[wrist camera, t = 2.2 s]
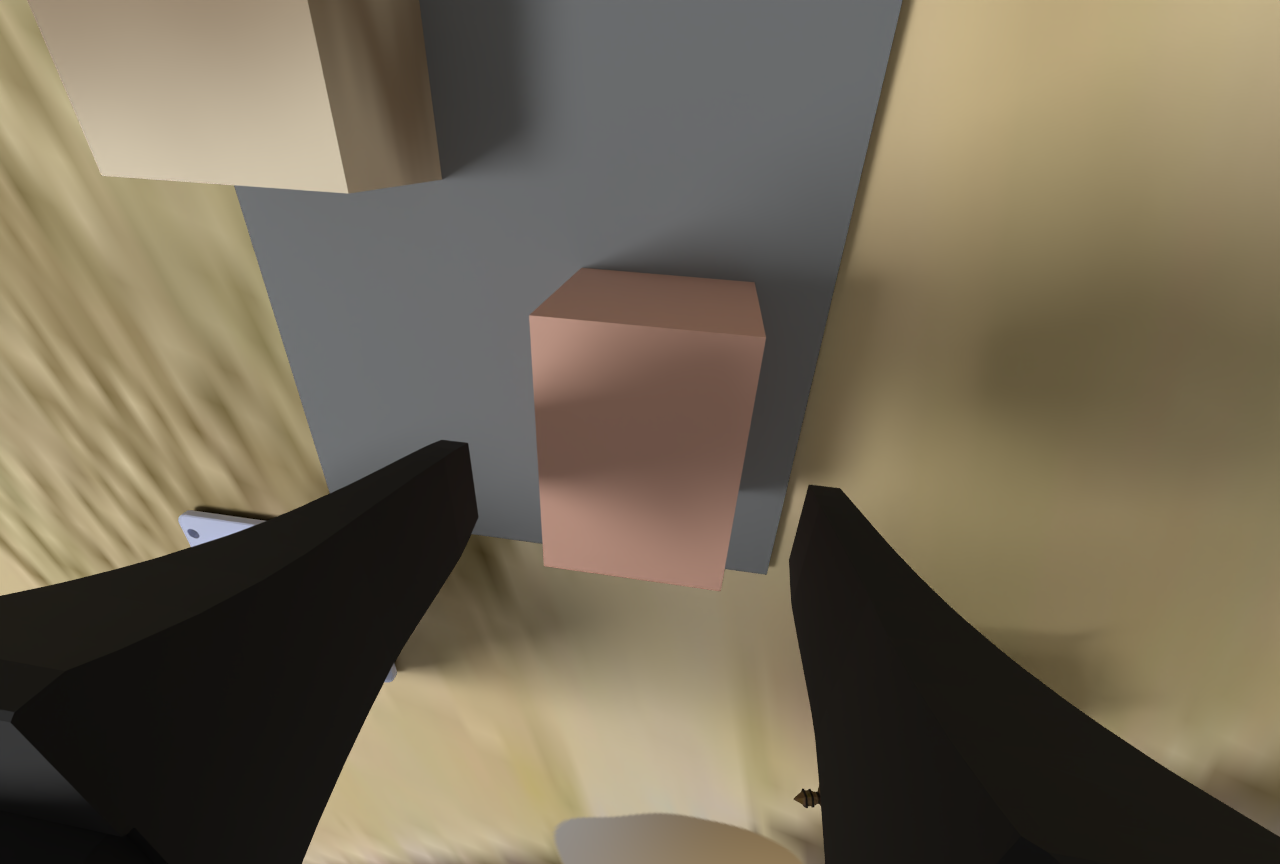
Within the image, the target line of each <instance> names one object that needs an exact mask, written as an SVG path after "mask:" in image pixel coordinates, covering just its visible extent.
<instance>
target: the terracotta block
mask: <svg viewBox="0 0 1280 864" xmlns="http://www.w3.org/2000/svg"><path fill="white" fill-rule="evenodd" d="M529 323H530V339H531V356H532V373H533V390H534V407H535V424H536V441H537V458H538V474H539V491H540V508H541V525H542V542H543V559H544V566H547V567H554V568H561V569H568V570H575V571H582V572H589V573H596V574H603V575H610V576H617V577H624V578H631V579H638V580H645V581H652V582H659V583H666V584H673V585H680V586H687V587H694V588H701V589H708V590H715V591H721V586H722V581H723V575H724V570H725V564H726V558H727V553H728V547H729V542H730V536H731V530H732V525H733V519H734V514H735V508H736V503H737V497H738V491H739V486H740V480H741V475H742V469H743V464H744V458H745V452H746V447H747V441H748V436H749V430H750V425H751V419H752V413H753V408H754V402H755V397H756V391H757V386H758V380H759V374H760V369H761V363H762V358H763V352H764V347H765V341H766V335H765V330H764V325H763V320H762V315H761V311H760V306H759V301H758V296H757V291H756V286H755V282H745V281H733V280H721V279H710V278H698V277H686V276H674V275H662V274H650V273H638V272H626V271H614V270H602V269H590V268H581V269H579V270H578V271H577V272H576V273H575V274H574V275H573V276H572V277H571V278H570V279H568V280H567V281H566V282H565V283H564V284H563V285H562V286H561V287H560V288H559V289H557V290H556V291H555V292H554V293H553V294H552V295H551V296H550V297H549V298H548V299H546V300H545V301H544V302H543V303H542V304H541V305H540V306H539V307H538V308H537V309H535V310H534V311H533V312H532V313H531V314H530V315H529Z"/></svg>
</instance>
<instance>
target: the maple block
mask: <svg viewBox="0 0 1280 864" xmlns="http://www.w3.org/2000/svg"><path fill="white" fill-rule="evenodd" d="M27 1H28V3H29V6H30V8H31V10H32V13H33V15H34V17H35V20H36V22H37V24H38V27H39V29H40V31H41V34H42V36H43V39H44V41H45V43H46V46H47V48H48V50H49V53H50V55H51V57H52V60H53V62H54V65H55V67H56V69H57V72H58V74H59V76H60V79H61V81H62V83H63V86H64V88H65V90H66V93H67V95H68V98H69V100H70V102H71V105H72V107H73V109H74V112H75V114H76V116H77V119H78V121H79V123H80V126H81V128H82V131H83V133H84V135H85V138H86V140H87V142H88V145H89V147H90V149H91V152H92V154H93V156H94V159H95V161H96V164H97V166H98V168H99V171H100V173H101V175H102V176H114V177H128V178H141V179H155V180H169V181H183V182H196V183H210V184H224V185H238V186H251V187H265V188H279V189H293V190H306V191H320V192H334V193H347V194H349V193H356V192H363V191H369V190H376V189H383V188H389V187H396V186H403V185H410V184H416V183H423V182H430V181H436V180H442V175H441V167H440V160H439V152H438V144H437V136H436V128H435V121H434V113H433V105H432V97H431V89H430V82H429V74H428V66H427V58H426V50H425V43H424V35H423V27H422V19H421V11H420V4H419V0H27Z"/></svg>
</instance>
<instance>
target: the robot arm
mask: <svg viewBox="0 0 1280 864" xmlns="http://www.w3.org/2000/svg"><path fill="white" fill-rule="evenodd" d="M178 520H179V524H180V526H181V528H182V529H183V531H184V533H185V535H186V537H187V539H188V541H189V543H190V545H191V547H190V548H187V549H184V550H181V551H178V552H174V553H171V554H168V555H165V556H162V557H159V558H155V559H152V560H148V561H144V562H141V563H137V564H134V565H130V566H126V567H123V568H119V569H115V570H111V571H107V572H103V573H99V574H95V575H92V576H88V577H84V578H80V579H76V580H71V581H67V582H63V583H59V584H54V585H50V586H46V587H41V588H36V589H31V590H26V591H22V592H17V593H12V594H7V595H2V596H0V864H302V862H303V859H304V857H305V854H306V852H307V849H308V847H309V844H310V842H311V840H312V837H313V835H314V832H315V830H316V827H317V825H318V823H319V820H320V818H321V816H322V813H323V811H324V809H325V807H326V804H327V802H328V800H329V798H330V795H331V793H332V791H333V789H334V786H335V784H336V782H337V779H338V777H339V775H340V773H341V770H342V768H343V766H344V764H345V761H346V759H347V757H348V755H349V753H350V751H351V749H352V747H353V745H354V743H355V740H356V738H357V736H358V734H359V732H360V730H361V728H362V726H363V724H364V721H365V719H366V717H367V715H368V713H369V711H370V709H371V707H372V705H373V703H374V701H375V699H376V697H377V695H378V693H379V691H380V689H381V687H382V685H383V683H384V682H391V681H393V680H394V678H395V677H396V675H397V670H396V667H395V663H394V662H395V661H396V659H397V657H398V655H399V654H400V652H401V650H402V649H403V647H404V645H405V644H406V642H407V640H408V639H409V637H410V636H411V634H412V633H413V631H414V630H415V628H416V626H417V625H418V623H419V622H420V620H421V619H422V617H423V615H424V614H425V612H426V611H427V609H428V608H429V606H430V605H431V603H432V601H433V600H434V598H435V597H436V595H437V594H438V592H439V591H440V589H441V587H442V586H443V584H444V583H445V581H446V579H447V578H448V576H449V575H450V573H451V572H452V570H453V568H454V567H455V565H456V563H457V562H458V560H459V559H460V557H461V555H462V553H463V551H464V549H465V547H466V544H467V542H468V540H469V538H470V536H471V533H472V531H473V529H474V527H475V524H476V522H477V520H478V509H477V502H476V495H475V488H474V481H473V473H472V466H471V459H470V452H469V444H468V443H465V442H457V441H449V440H440V441H437V442H435V443H432V444H430V445H428V446H425V447H423V448H421V449H419V450H417V451H415V452H413V453H411V454H409V455H407V456H405V457H403V458H401V459H399V460H397V461H395V462H393V463H391V464H389V465H387V466H385V467H383V468H381V469H379V470H377V471H375V472H373V473H371V474H369V475H367V476H365V477H363V478H361V479H359V480H357V481H355V482H353V483H351V484H349V485H347V486H345V487H343V488H341V489H338V490H336V491H334V492H332V493H330V494H328V495H325V496H323V497H321V498H319V499H317V500H315V501H312V502H310V503H308V504H306V505H304V506H302V507H299V508H297V509H295V510H292V511H290V512H288V513H285V514H283V515H280V516H278V517H275V518H273V519H270V520H268V521H264V520H257V519H250V518H242V517H235V516H228V515H221V514H214V513H207V512H200V511H193V510H188V511H186V512H185V513H183V514H182V515H180V516H179V519H178ZM789 569H790V589H791V604H792V610H793V616H794V621H795V627H796V632H797V638H798V643H799V649H800V654H801V659H802V664H803V670H804V675H805V680H806V685H807V691H808V696H809V701H810V707H811V712H812V719H813V726H814V732H815V740H816V752H817V763H818V774H819V785H820V797H821V811H822V824H823V838H824V852H825V864H1280V837H1279V836H1277V835H1276V834H1274V833H1272V832H1271V831H1269V830H1267V829H1266V828H1264V827H1262V826H1261V825H1259V824H1257V823H1256V822H1254V821H1252V820H1251V819H1249V818H1247V817H1246V816H1244V815H1242V814H1241V813H1239V812H1237V811H1236V810H1234V809H1232V808H1231V807H1229V806H1228V805H1226V804H1224V803H1223V802H1221V801H1219V800H1218V799H1216V798H1214V797H1213V796H1211V795H1209V794H1208V793H1206V792H1204V791H1203V790H1201V789H1199V788H1198V787H1196V786H1194V785H1193V784H1191V783H1189V782H1188V781H1186V780H1184V779H1183V778H1181V777H1180V776H1178V775H1176V774H1175V773H1173V772H1171V771H1170V770H1168V769H1167V768H1165V767H1164V766H1162V765H1160V764H1159V763H1157V762H1156V761H1154V760H1153V759H1151V758H1150V757H1148V756H1147V755H1145V754H1144V753H1142V752H1141V751H1139V750H1138V749H1136V748H1135V747H1133V746H1132V745H1130V744H1129V743H1127V742H1126V741H1124V740H1123V739H1121V738H1120V737H1118V736H1117V735H1115V734H1114V733H1112V732H1111V731H1109V730H1108V729H1106V728H1105V727H1103V726H1102V725H1100V724H1099V723H1097V722H1096V721H1095V720H1093V719H1092V718H1090V717H1089V716H1087V715H1086V714H1085V713H1083V712H1082V711H1080V710H1079V709H1077V708H1076V707H1075V706H1073V705H1072V704H1070V703H1069V702H1068V701H1066V700H1065V699H1063V698H1062V697H1061V696H1059V695H1058V694H1057V693H1055V692H1054V691H1053V690H1051V689H1050V688H1049V687H1047V686H1046V685H1045V684H1043V683H1042V682H1041V681H1039V680H1038V679H1037V678H1035V677H1034V676H1033V675H1031V674H1030V673H1029V672H1027V671H1026V670H1025V669H1023V668H1022V667H1021V666H1020V665H1018V664H1017V663H1016V662H1015V661H1013V660H1012V659H1011V658H1010V657H1008V656H1007V655H1006V654H1005V653H1003V652H1002V651H1001V650H1000V649H998V648H997V647H996V646H995V645H994V644H992V643H991V642H990V641H989V640H988V639H987V638H985V637H984V636H983V635H982V634H981V633H980V632H978V631H977V630H976V629H975V628H974V627H973V626H971V625H970V624H969V623H968V622H967V621H966V620H964V619H963V618H962V617H961V616H960V615H959V614H958V613H957V612H956V611H954V610H953V609H952V608H951V607H950V606H949V605H948V604H947V603H946V602H945V601H944V600H943V599H942V598H941V597H940V596H939V595H938V594H937V593H936V592H934V591H933V590H932V589H931V588H930V587H929V586H928V585H927V584H926V583H925V582H924V581H923V580H922V579H921V578H920V577H919V576H918V575H917V574H916V573H915V572H914V571H913V570H912V569H911V568H910V566H909V565H908V564H907V563H906V562H905V561H904V560H903V559H902V558H901V557H900V556H899V555H898V554H897V553H896V552H895V550H894V549H893V548H892V547H891V546H890V545H889V544H888V543H887V542H886V541H885V539H884V538H883V537H882V536H881V535H880V534H879V533H878V532H877V530H876V529H875V528H874V527H873V526H872V525H871V523H870V522H869V521H868V520H867V519H866V518H865V517H864V515H863V514H862V513H861V512H860V511H859V510H858V508H857V507H856V506H855V505H854V504H853V503H852V501H851V500H850V499H849V498H848V497H847V496H846V494H845V493H844V492H843V491H842V490H841V489H840V488H832V487H824V486H816V485H809V486H808V490H807V494H806V497H805V501H804V505H803V509H802V513H801V516H800V520H799V524H798V528H797V532H796V536H795V539H794V543H793V547H792V551H791V555H790V558H789Z"/></svg>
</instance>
